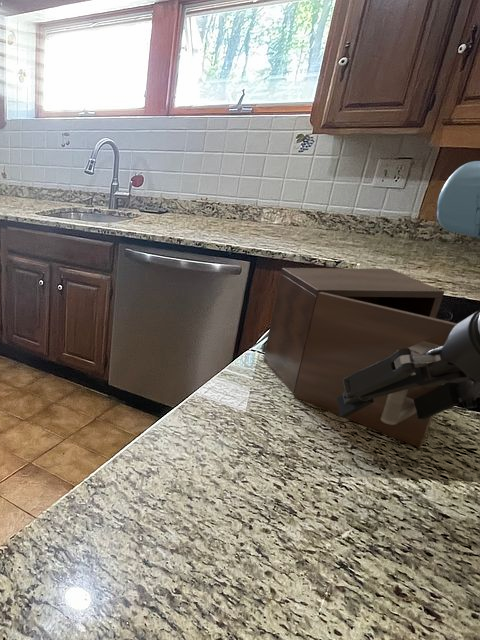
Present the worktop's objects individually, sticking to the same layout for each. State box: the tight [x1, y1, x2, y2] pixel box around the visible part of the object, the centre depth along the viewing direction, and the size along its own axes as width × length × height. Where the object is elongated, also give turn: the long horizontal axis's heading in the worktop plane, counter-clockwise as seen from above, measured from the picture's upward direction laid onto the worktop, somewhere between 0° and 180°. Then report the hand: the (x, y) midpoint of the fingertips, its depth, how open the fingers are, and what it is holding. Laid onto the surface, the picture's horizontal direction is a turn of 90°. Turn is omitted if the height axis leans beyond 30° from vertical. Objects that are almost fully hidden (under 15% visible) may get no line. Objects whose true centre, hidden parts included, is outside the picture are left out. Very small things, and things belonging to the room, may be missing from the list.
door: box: [293, 292, 458, 448], centre depth 74 cm, size 7×18×18 cm, turn 31°
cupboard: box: [262, 267, 445, 395], centre depth 89 cm, size 14×18×18 cm
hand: (379, 408), depth 70 cm, fingers open, 9 cm apart
